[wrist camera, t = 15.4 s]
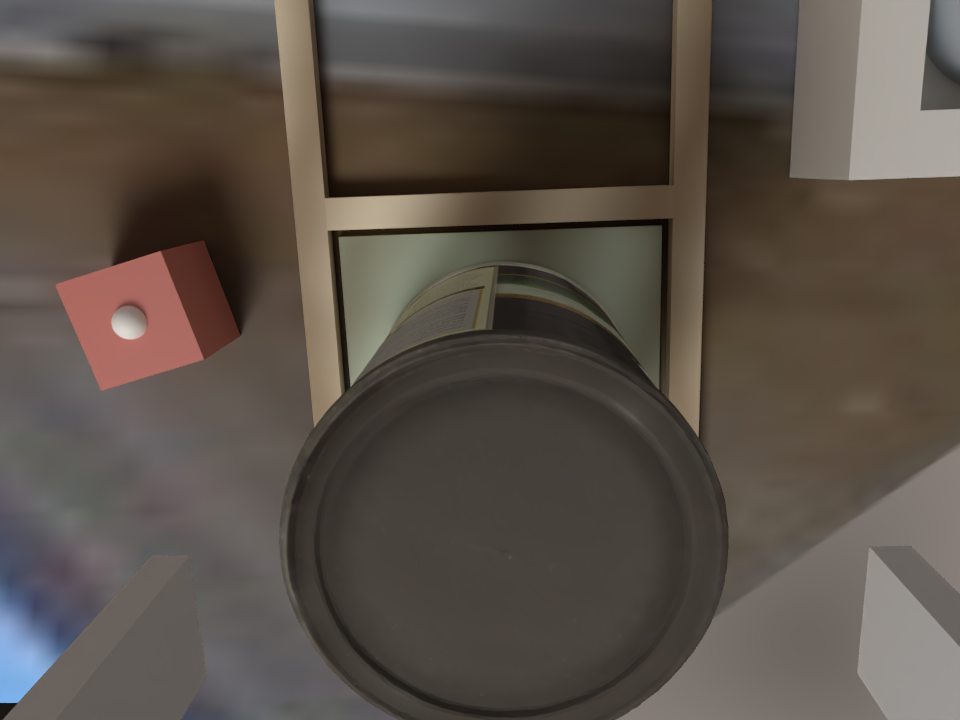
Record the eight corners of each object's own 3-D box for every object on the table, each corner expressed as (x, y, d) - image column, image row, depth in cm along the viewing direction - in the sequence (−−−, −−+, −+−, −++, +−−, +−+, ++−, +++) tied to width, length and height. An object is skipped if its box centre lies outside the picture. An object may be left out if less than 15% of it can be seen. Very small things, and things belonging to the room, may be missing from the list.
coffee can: (630, 251, 30) (737, 324, 16) (632, 500, 32) (725, 744, 19) (364, 264, 30) (250, 346, 17) (386, 509, 33) (302, 754, 19)
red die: (203, 240, 31) (152, 252, 26) (240, 335, 32) (197, 363, 27) (110, 269, 31) (45, 287, 27) (149, 363, 32) (92, 395, 27)
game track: (714, -251, 26) (720, -263, 25) (690, 553, 33) (694, 562, 33) (259, -225, 27) (252, -237, 26) (331, 561, 34) (327, 570, 33)
